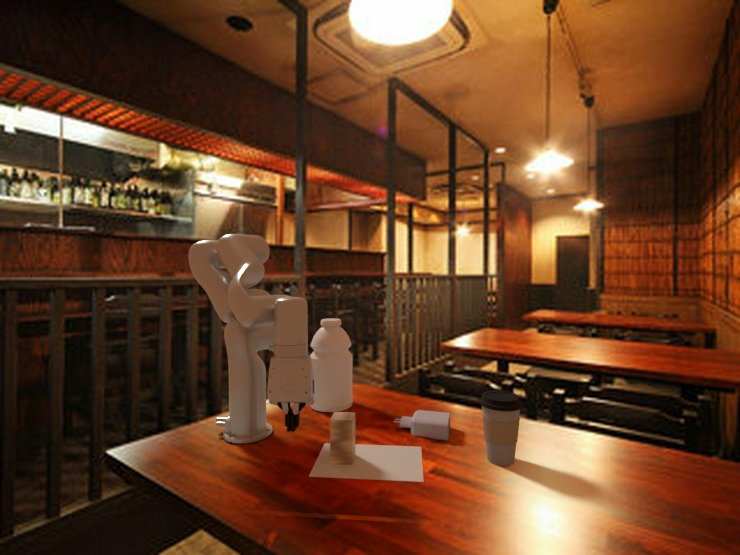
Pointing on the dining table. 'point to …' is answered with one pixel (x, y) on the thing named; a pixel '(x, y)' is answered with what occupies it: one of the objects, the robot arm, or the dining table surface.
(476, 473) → the dining table surface
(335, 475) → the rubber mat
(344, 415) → the maple block
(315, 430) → the dining table surface
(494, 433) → the coffee cup
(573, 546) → the dining table surface
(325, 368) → the bottle
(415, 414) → the charger
